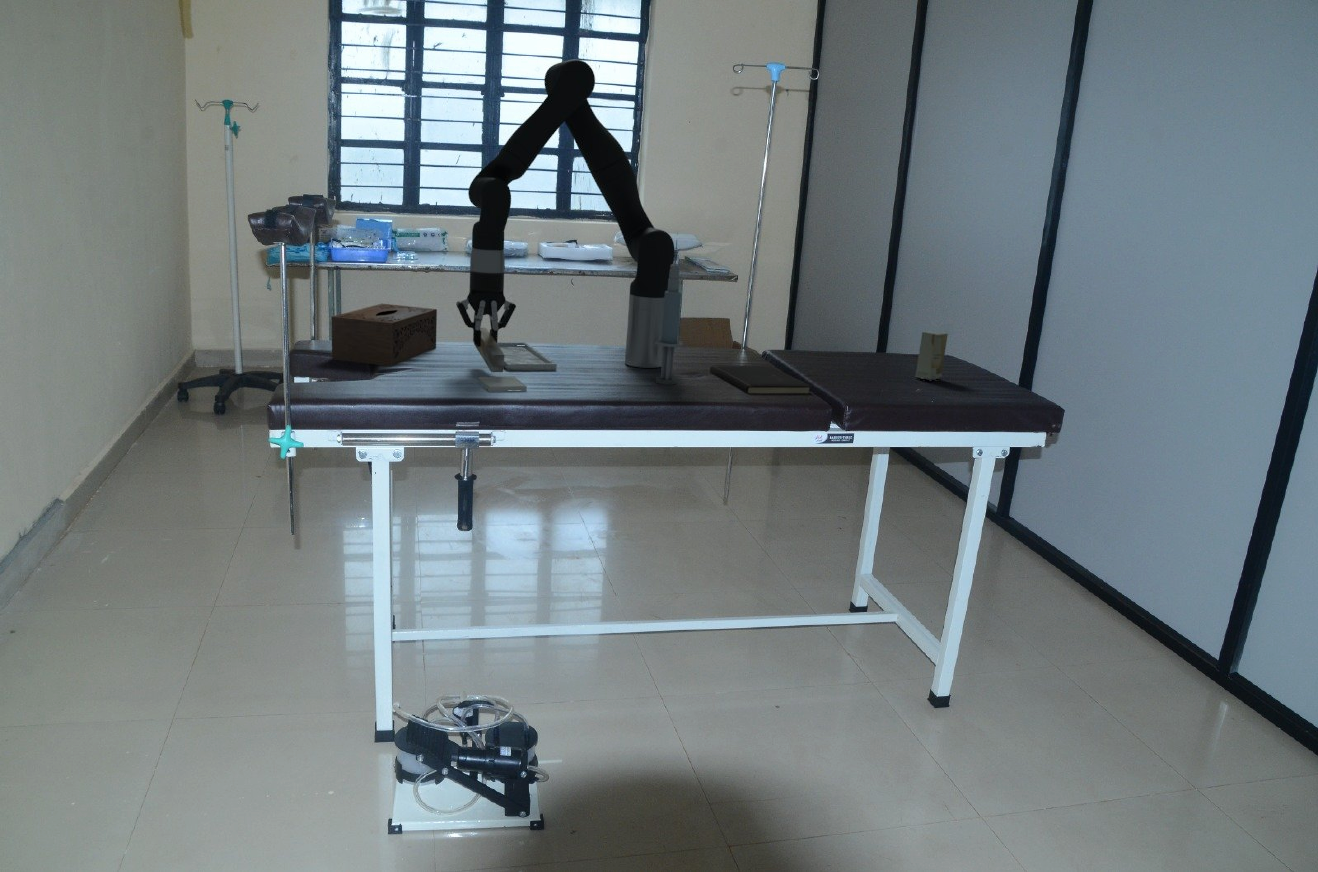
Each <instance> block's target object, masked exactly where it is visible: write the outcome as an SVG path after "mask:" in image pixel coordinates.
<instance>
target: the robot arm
mask: <svg viewBox="0 0 1318 872" xmlns="http://www.w3.org/2000/svg"><path fill="white" fill-rule="evenodd" d="M543 84H544V89H545V92H546V94H547V96H546V97H545V99H544V100H543V101H542V102H541V104H540V105H539V106H538V107H537V109H536V110H534V112H533V113H531V115H529V117H528V118H526V119H525V120H524V121H523V122H522V123H521V124H520V125H519V126H518V128H516V130H515V131H514V132H513V133H512V134H511V135H510V136H509V138H508V140H507V141H506V142H505V143H504V145H503V147H501V149H500V150H499V152H498V154H497V155H496V156H495V157H494V158H493V159H492V160H491V161H489V163H487V164H486V165H485V166H484V167H483V168H482V169H481V170H480V171H479V172H478V173H477V174H476V175H475V177H474V178H473V179H472V181H471V182H470V185H469V187H468V199H469V201H470V203H471V204H472V205H473V206H474V207H476V208H477V209H480V214H479V220H478V221H476V222H475V223H473V226H472V232H471V236H472V237H471V252H470V257H469V258H470V259H469V260H470V261H469V263H470V264H469V292H468V295H467V297H466V299H463V300H461V301H459V300H457V302H456V303H455V304H456V308H457V310H458V312H459V314H460V316H461V318H462V320H463V323H464V325H465V326H466V327H467V328H471V329H473V330H472V331H473V333H472V335H473V337H472V338H473V339H472V341H473V344H476V346H477V347H480V346H481V330H480V328H482V321H483V317H484V316H486V315H487V316H488V317H489V323H490V329H489V333H490V334H491V336H492V337H493V338H494V340H495V341H496V343H497V342H498V333H499V330H500V329H502V328H503V329H504V328H506V327H507V325H508V323H509V322H510V319H511V318H512V316H513V313H514V312H515V310H516V308H517V306H516V304H515V303H514V302H511V301H508V300H507V299H506V297H505V294H504V292H505V291H504V290H505V289H504V288H505V286H504V285H505V270H506V263H505V230H506V226H507V223H508V218H509V214H510V210H511V205H512V193H511V190H510V189H511V188H510V187H509V185H510V183H512V182H513V181H515V180H519V179H521V178H522V177H523V176H524V175H525V173H526V172H527V171H528V169H530V167H531V166H532V164H533V163H534V161H535V160H536V158H537V157H538V156H539V154H540V153H541V151H542V150H543V148H544V147H545V146H546V145H547V143H548V142H549V141H550V140H551V138H552V137H553V135H555V133H556V132H557V131H558V130H559V128H560V127H561V126H562V125H563V124H565V125H566V126H567V128H568V130H569V132H570V134H571V137H572V138H573V140H574V142H575V144H576V147H578V151H579V152H580V154H581V156H582V158H583V160H584V162H585V164H586V166H587V169H588V171H589V172H590V174H591V176H592V179H593V180H594V182H595V184H596V186H597V187H598V190H599V191H600V193H601V195H602V197H603V198H604V200H605V203H606V204H607V206H608V208H609V209H610V211H611V214H612V215H613V216H614V219H615V221H616V222H617V225H618V228H619V230H620V233H621V235H622V238H623V240H624V242H625V245H626V249H627V251H628V253H629V255H630V257H631V259H633V260H634V262H636V263H637V267H636V275H635V277H634V279H633V281H632V282H630V285H629V299H628V313H627V315H628V317H627V328H626V339H625V340H626V341H625V343H626V344H625V355H624V356H625V358H624V364H625V365H628V366H630V367H636V368H644V369H654V368H662V356H663V346H659V345H656V344H655V341H656V340H661V337H662V324H663V311H664V298H665V291H667V290H668V279H669V273H670V265H672V264H674V261H675V251H676V249H675V243H674V240H673V238H672V236H671V235H670V234H669V233H668V232H667V231H665V230H662V229H660V228H655V226H654V224H653V223H652V222H651V220H650V218H649V217H648V216H649V215H647V213H646V211H645V209H644V207H643V205H642V202H641V199H640V194H639V187H638V182H637V178H636V174H635V171H634V168H633V167H632V164H631V162H630V160H629V158H628V156H627V154H626V152H625V151H624V148H623V147H622V145H621V144H620V142H619V141H618V140H617V139H616V137H614V135H613V134H612V133H611V132H610V131H609V130H608V128H606V126H604V125H603V124H602V122H601V121H600V120H599V119H598V118H597V116H596V115H595V114H596V113H594V111H593V109H592V106H591V105H590V102H589V100H588V98H589V97H590V96H591V95H592V93H593V92H594V89H595V85H596V76H595V72H594V70H593V68H592V67H591V66H590V65H589V64H588V63H587V62H585V61H583V60H580V59H568V60H564V61H562V62H558V63H555V64H553V65H551V66H550V67H549V68H548V69H547V71H546V73H545V75H544V83H543ZM469 306H470V307H471V308H472V309H473V311H474V312H473V313H474V314H473V321H472V320H471V318H470V316H469V313H468V309H469ZM502 307H503V309H504V311H503V313H502V315H501V317H500V319H499V317H498V316H499V315H498V312H499V311H500V310H501V308H502ZM498 320H499V321H498ZM476 346H475V347H476Z"/></svg>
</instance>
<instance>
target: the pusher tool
mask: <svg viewBox="0 0 1318 872" xmlns="http://www.w3.org/2000/svg"><path fill="white" fill-rule="evenodd" d="M480 330H481V346H480V347H477V346H476V344H474V343H473V344H474V346H475V348H476V350H477V351H478V353H479V355H480V357H482V360H483V361H484V363H485V365H486V366H487V367H488V369H489V371H490V373H504V369H505V368H504V353H503V352H502V350H501V349H500V347H499V346H498V344H497V343H496V341H495V340H494V338H493V337H492V336H491V334H490V330H489V329H488V328H487V327H480Z"/></svg>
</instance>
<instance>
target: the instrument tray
mask: <svg viewBox="0 0 1318 872" xmlns="http://www.w3.org/2000/svg"><path fill="white" fill-rule="evenodd" d="M497 344H498V346H499V347H500V349H501V350H502V352H503V353H504V368H503V369H504V370H506V371H508V372H509V371H511V372H513V371H514V372H518V371H519V372H523V371H524V372H526V371H528V372H529V371H535V372H537V371H542V372H543V371H557V365H558V364H557V363H556V362H554V361H553V360H551V359H550V358H548V357H547V356H546V355H544V354H543V353H541V352H540V351H538V349H535V348H534V347H533V346H531V345H530V344H529V343H527V342H526V341H524V342H521V341H520V342H518V341H515V342H513V341H512V342H511V341H510V342H503V341H501V342H498V341H497ZM517 345H525V346H517Z"/></svg>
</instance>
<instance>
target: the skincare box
mask: <svg viewBox="0 0 1318 872" xmlns="http://www.w3.org/2000/svg"><path fill="white" fill-rule="evenodd" d="M948 335H949V334H948V333H946V332H942V331H936V330H930V331H929V330H928V331H922V332H921V337H920V338H921V339H920V344H919V345H920V346H919V350H918V351H919V353H918V357H917V363H916V364H917V366H916V371H915V377H919V378H921V379H937V378H939V377H941V378H942V373H943V367H944V360H945V354H946V347H947V343H948V342H947V341H948Z"/></svg>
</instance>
